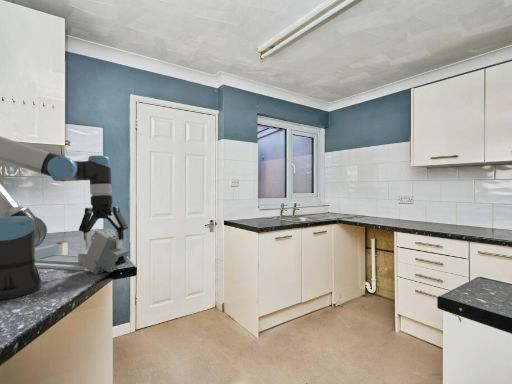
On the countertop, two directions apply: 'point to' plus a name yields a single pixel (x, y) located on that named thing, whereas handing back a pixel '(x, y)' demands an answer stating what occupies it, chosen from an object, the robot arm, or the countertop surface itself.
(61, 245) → the relay block
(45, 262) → the rail board
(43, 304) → the countertop surface
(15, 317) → the countertop surface
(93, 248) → the circuit breaker
